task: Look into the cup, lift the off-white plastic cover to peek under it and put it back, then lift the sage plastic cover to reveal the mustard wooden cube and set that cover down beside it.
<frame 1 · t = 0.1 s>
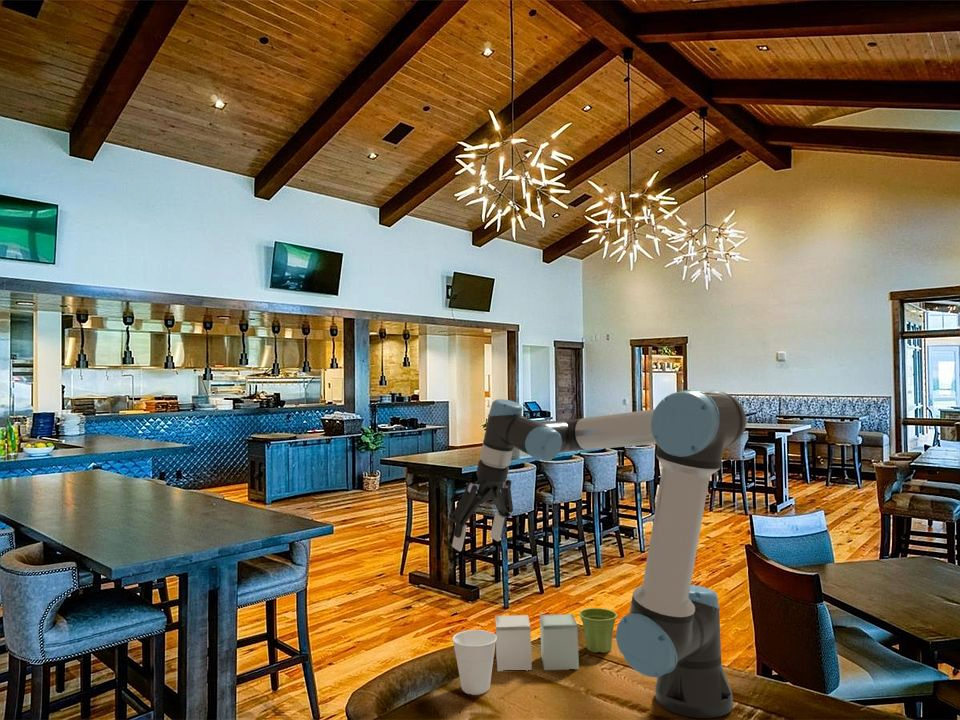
hand: (476, 543, 156), 28 cm above the table, tool tilted 20°, fingers open, 13 cm apart
white cover: (513, 664, 151), on the table
sage cover: (559, 662, 151), on the table
plant pot: (599, 649, 159), on the table
cup: (475, 690, 138), on the table
mustard cube: (559, 663, 151), on the table
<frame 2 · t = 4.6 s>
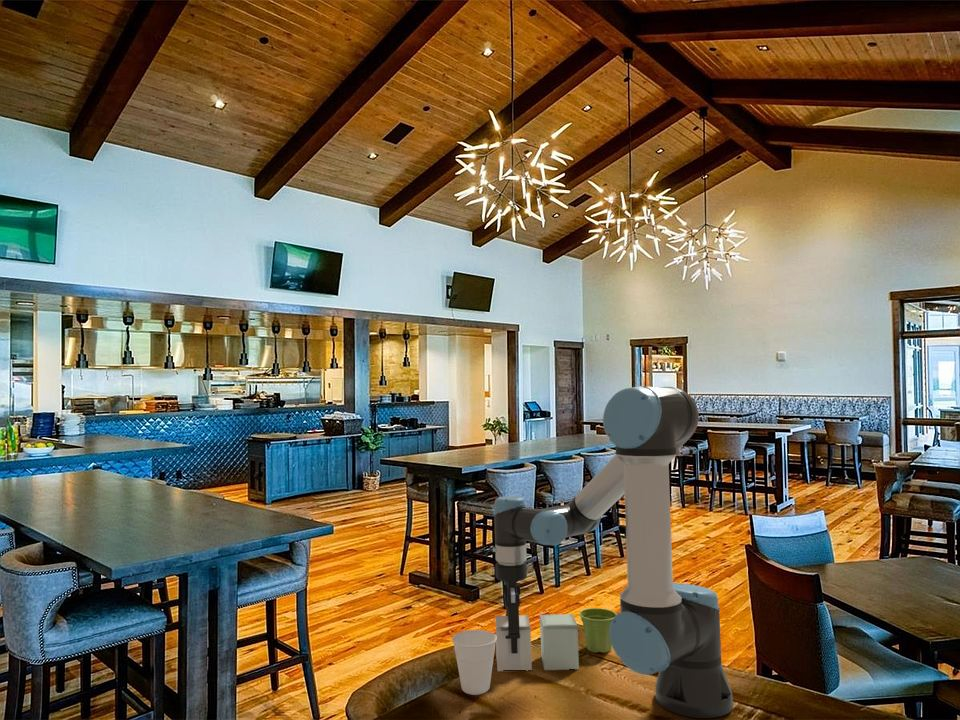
hand: (513, 658, 151), 1 cm above the table, tool pointing down, fingers closed on white cover, 8 cm apart
white cover: (513, 663, 151), on the table, touching gripper
everything else where it was.
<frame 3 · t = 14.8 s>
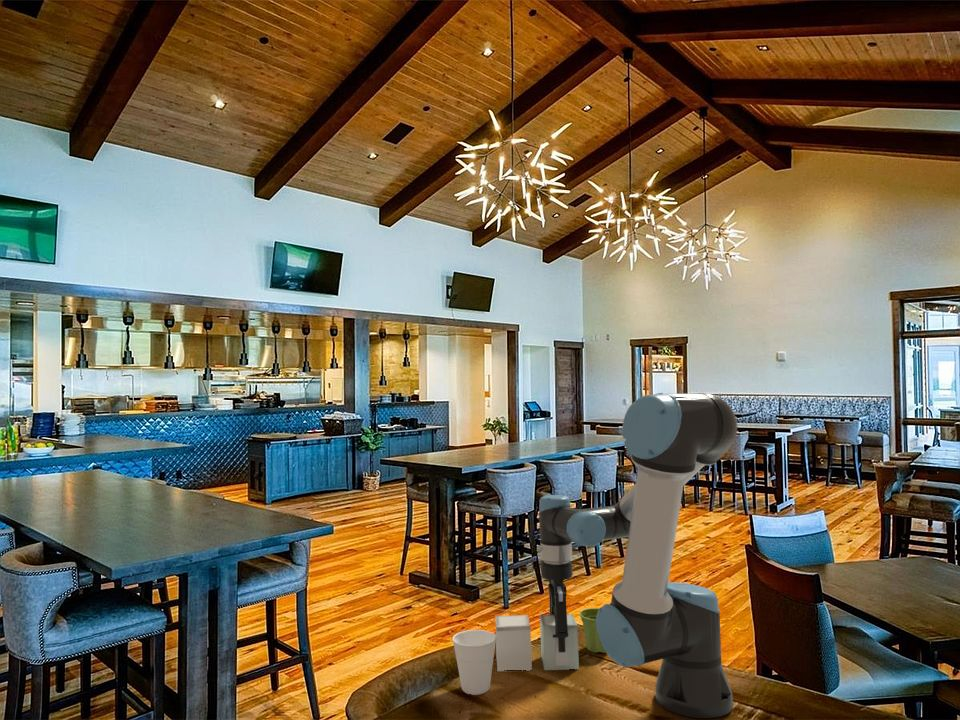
hand: (559, 657, 151), 1 cm above the table, tool pointing down, fingers closed on sage cover, 8 cm apart
white cover: (513, 664, 151), on the table
sage cover: (559, 662, 151), on the table, touching gripper
everything else where it was.
when the fingers open (2 cm above the table, at t = 21.2 s): sage cover stays where it is, on the table.
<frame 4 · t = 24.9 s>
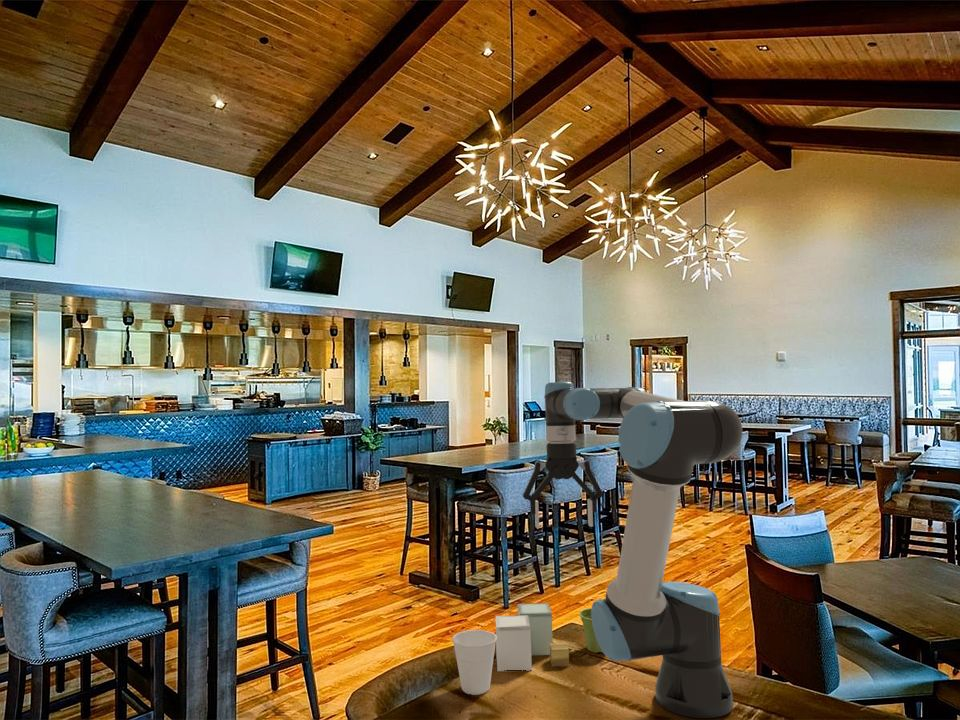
hand: (563, 526, 160), 31 cm above the table, tool pointing down, fingers open, 13 cm apart
sage cover: (535, 648, 160), on the table
everything else where it was.
at the end: sage cover inside the target area (0.0 cm from its centre), on the table; sage cover tilted 0°; white cover moved 0.0 cm from its start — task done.
